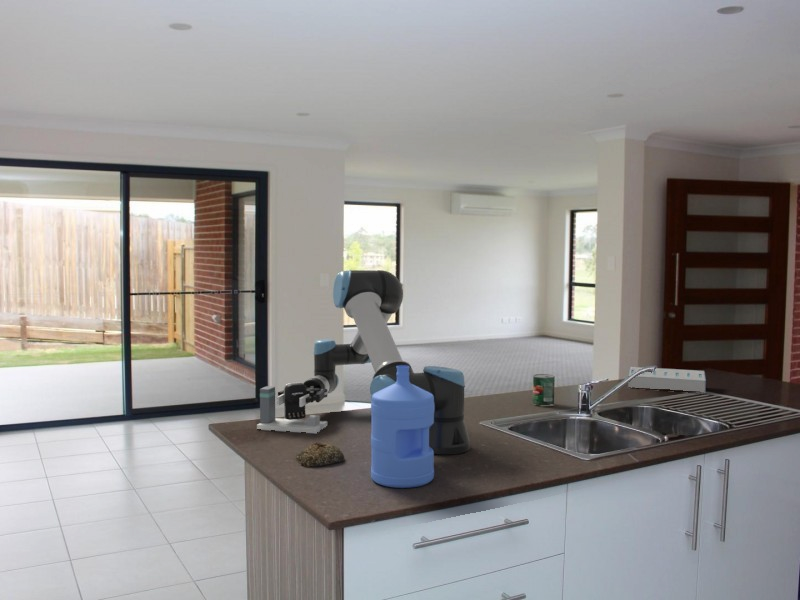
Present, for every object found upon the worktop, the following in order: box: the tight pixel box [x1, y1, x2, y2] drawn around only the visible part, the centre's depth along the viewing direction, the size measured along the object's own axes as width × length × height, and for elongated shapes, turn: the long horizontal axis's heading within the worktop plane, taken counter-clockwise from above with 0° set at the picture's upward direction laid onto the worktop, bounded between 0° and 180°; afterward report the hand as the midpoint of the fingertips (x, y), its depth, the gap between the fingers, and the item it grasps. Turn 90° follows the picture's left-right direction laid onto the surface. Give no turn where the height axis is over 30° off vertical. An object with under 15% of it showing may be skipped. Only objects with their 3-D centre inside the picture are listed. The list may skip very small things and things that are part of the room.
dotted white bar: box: [627, 366, 707, 393], centre depth 292 cm, size 30×14×8 cm, turn 69°
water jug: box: [370, 365, 435, 489], centre depth 170 cm, size 16×16×28 cm
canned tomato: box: [532, 373, 556, 405], centre depth 257 cm, size 8×8×11 cm
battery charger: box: [283, 382, 307, 420], centre depth 220 cm, size 7×4×11 cm, turn 117°
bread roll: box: [295, 441, 345, 468], centre depth 187 cm, size 13×12×5 cm
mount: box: [256, 385, 328, 434], centre depth 221 cm, size 10×20×12 cm, turn 76°
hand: (289, 401), depth 215 cm, fingers closed on battery charger, 7 cm apart
